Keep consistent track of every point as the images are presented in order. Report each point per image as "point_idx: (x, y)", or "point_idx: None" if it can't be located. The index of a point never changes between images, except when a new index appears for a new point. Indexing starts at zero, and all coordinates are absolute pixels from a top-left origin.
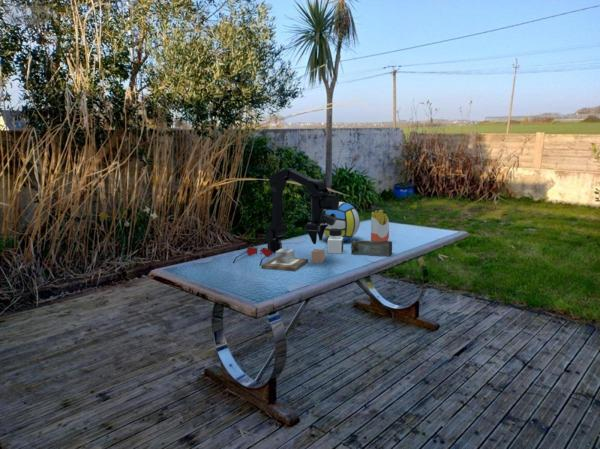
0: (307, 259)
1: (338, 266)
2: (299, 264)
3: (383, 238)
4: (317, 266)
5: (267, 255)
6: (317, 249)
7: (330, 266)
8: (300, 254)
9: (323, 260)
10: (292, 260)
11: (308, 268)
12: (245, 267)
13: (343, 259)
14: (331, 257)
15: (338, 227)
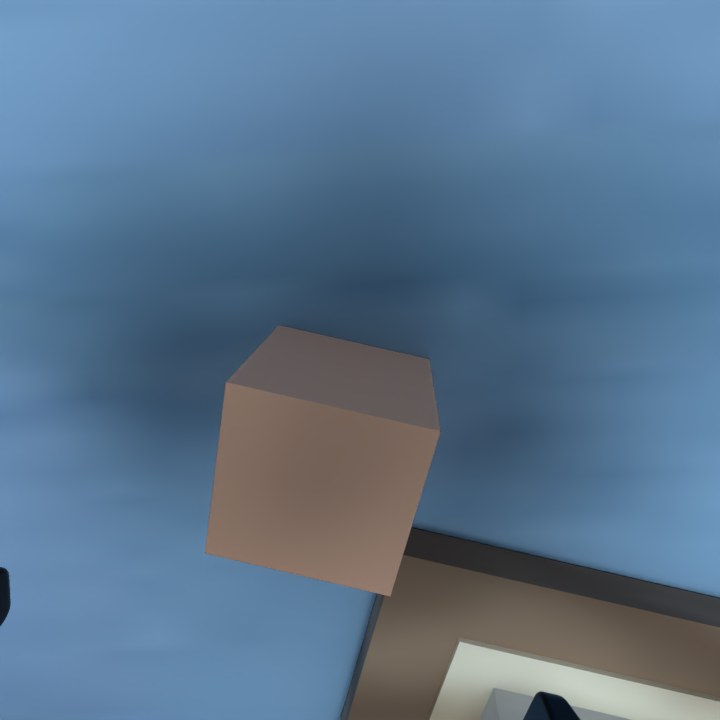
0: (416, 553)
1: (670, 75)
2: (693, 628)
3: None
4: (629, 402)
5: None
6: (221, 510)
7: (652, 217)
8: (66, 613)
9: (349, 345)
10: None
11: (715, 501)
12: None
13: (200, 14)
14: (115, 239)
15: None
